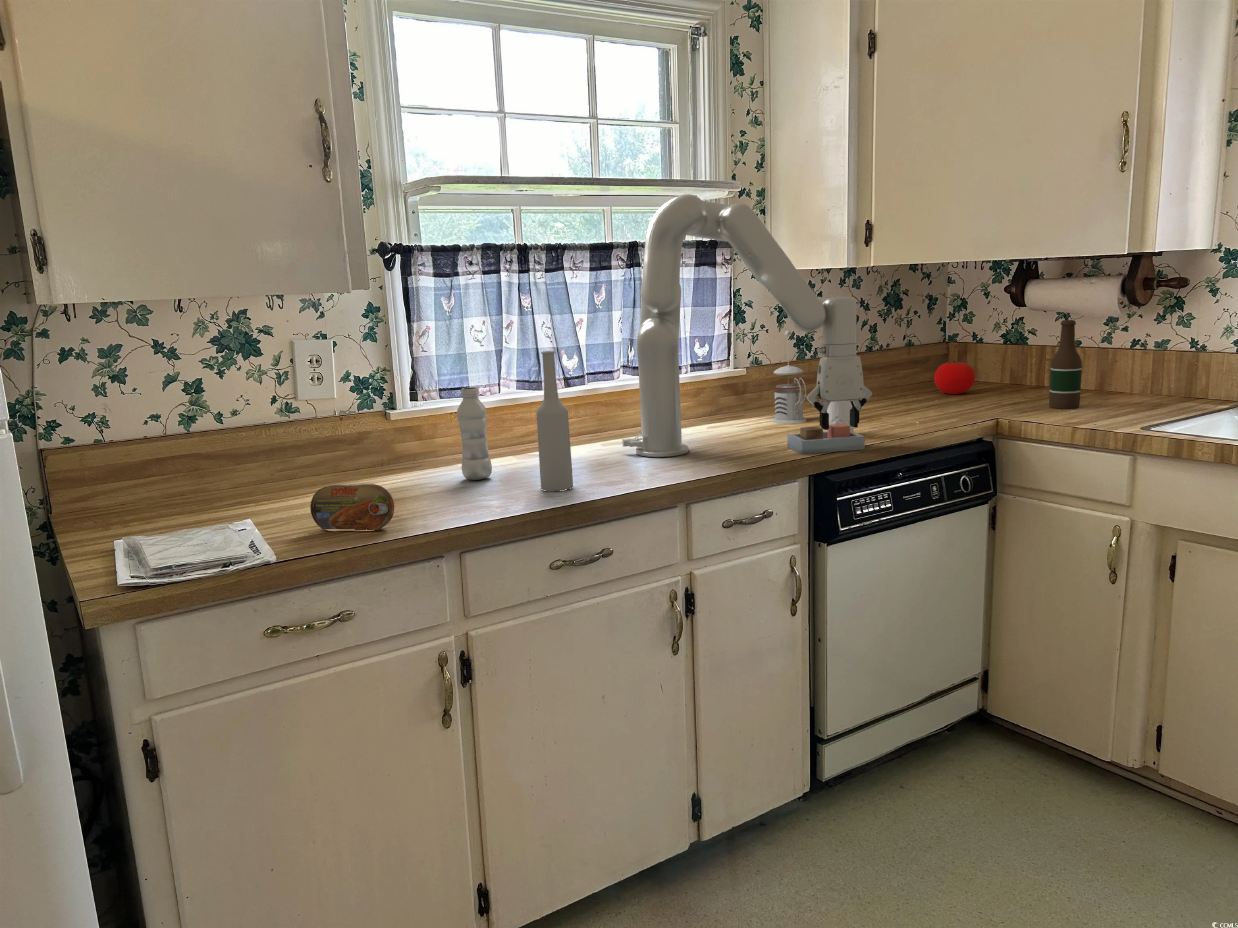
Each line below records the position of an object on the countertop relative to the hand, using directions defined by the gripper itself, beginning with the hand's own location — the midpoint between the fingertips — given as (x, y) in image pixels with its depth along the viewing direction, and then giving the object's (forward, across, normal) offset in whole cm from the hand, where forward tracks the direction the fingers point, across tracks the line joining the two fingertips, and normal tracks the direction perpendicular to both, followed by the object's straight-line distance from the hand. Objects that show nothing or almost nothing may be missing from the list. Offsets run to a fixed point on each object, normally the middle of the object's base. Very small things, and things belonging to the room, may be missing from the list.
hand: (839, 427), depth 213 cm
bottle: (+5, -68, -18) cm, 71 cm away
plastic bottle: (+5, -84, -3) cm, 85 cm away
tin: (+5, -106, -37) cm, 113 cm away
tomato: (+5, +66, +67) cm, 95 cm away
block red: (+4, 0, +1) cm, 4 cm away
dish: (+5, -4, 0) cm, 6 cm away
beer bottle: (+5, +78, +28) cm, 83 cm away
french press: (+5, +2, +40) cm, 40 cm away
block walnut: (+4, -7, 0) cm, 8 cm away
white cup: (+5, +6, +13) cm, 15 cm away
